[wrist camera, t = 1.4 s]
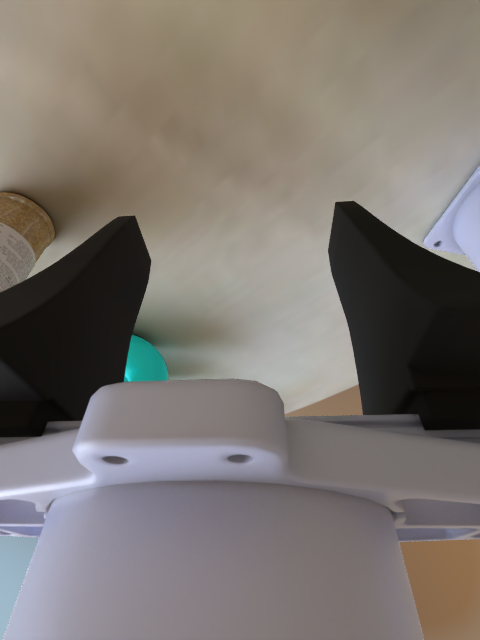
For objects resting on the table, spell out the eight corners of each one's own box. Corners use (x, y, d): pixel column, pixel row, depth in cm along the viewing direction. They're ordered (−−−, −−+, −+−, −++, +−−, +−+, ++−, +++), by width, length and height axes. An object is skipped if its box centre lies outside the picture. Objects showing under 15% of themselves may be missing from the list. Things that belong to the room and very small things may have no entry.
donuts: (177, 337, 33) (160, 431, 27) (163, 383, 40) (147, 466, 34) (75, 316, 31) (29, 413, 24) (79, 369, 38) (44, 455, 31)
